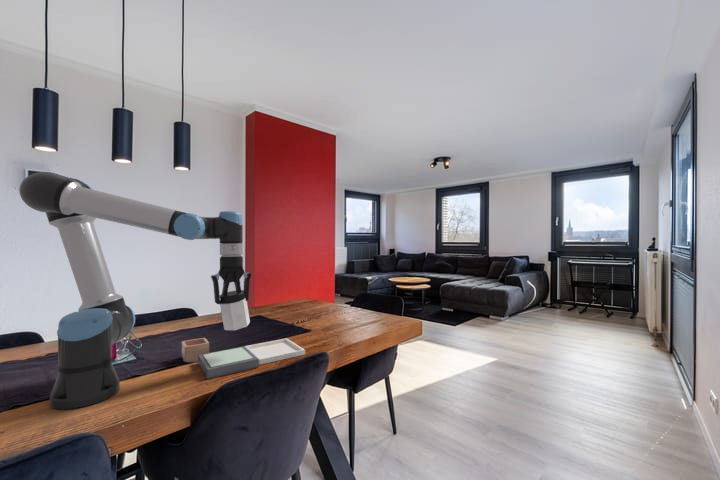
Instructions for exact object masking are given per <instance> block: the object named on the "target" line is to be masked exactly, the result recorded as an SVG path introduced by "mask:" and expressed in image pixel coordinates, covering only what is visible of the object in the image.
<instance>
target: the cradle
mask: <svg viewBox="0 0 720 480" xmlns="http://www.w3.org/2000/svg"><path fill="white" fill-rule="evenodd" d="M245 346H246V345H244V346H240V347H234V348H229V349H227V350H231V349H236V348H241V347H242V348H243V349H244V350H245V351H246V352H247V353H248V354H249V355H250V356H252V357H253V359H250V360H246V361H241V362H236V363H232V364H227V365H222V366H218V367H213V368H210V367H209V365H208V364H207V362H206V361H205V359H204V358H203V355H204V354H201V355H198V365H199V367H200V370H202V372H203V373H204V375H205V378H206V379H207V380H210V379H216V378H220V377H224V376H229V375H232V374H237V373H241V372H245V371H250V370H254V369H259V364H258V358H257V357H255V356H254V355H253V354H252V353H251V352H250V351H249V350H248V349H247V348H246V347H245ZM225 350H226V349H223V350H218V351H212V352H209V353H206V354H210V353H215V352H220V351H225Z"/></svg>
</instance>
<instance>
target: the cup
mask: <svg viewBox="0 0 720 480" xmlns="http://www.w3.org/2000/svg"><path fill="white" fill-rule="evenodd" d="M206 353H210V341H208V339H207V338H206V337H201V338H195V339H188V340H182V341H181V357H182V361H183V362H184V363H197V362H198V355H201V354H206Z"/></svg>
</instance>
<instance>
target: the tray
mask: <svg viewBox="0 0 720 480" xmlns="http://www.w3.org/2000/svg"><path fill="white" fill-rule="evenodd" d="M244 346H245V347H246V348H247V349H248V350H249V351H250V352H251V353H252V354H253V355H254V356H255V357H257V358H258V366H259V365H265V364H269V363H274V362H278V361H279V362H280V361H282V360H286V359H292V358H295V357H300V356H304V355H306V348H305V349H304V348H303V347H301V346H300V345H298V344H297V343H295V342H293V341H292V340H291V339H289V338H286V337H285V338H281V339H276V340H271V341H270V340H269V341H266V342H264V341H263V342H261V343H260V342H259V343H255V344H250V345H244Z"/></svg>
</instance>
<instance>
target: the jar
mask: <svg viewBox="0 0 720 480" xmlns="http://www.w3.org/2000/svg"><path fill="white" fill-rule="evenodd" d="M243 290H244V289H243ZM243 290H242V289H241V292H237V291H236V290H230V291H228V293H227V295H224V296H223V295H222V293H221V294H219V295H220V301H221V303H222V304H219V306H220V314H221V313H222V314H221V319H222V323H223V329H224V331H237V330H240V329H241V330H242V329H243V328H247V327H248V326H249V324H250V322H251V320H250V313H249V308H248V307H249V306H248V301H246V298H245V293H244V291H243Z"/></svg>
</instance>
